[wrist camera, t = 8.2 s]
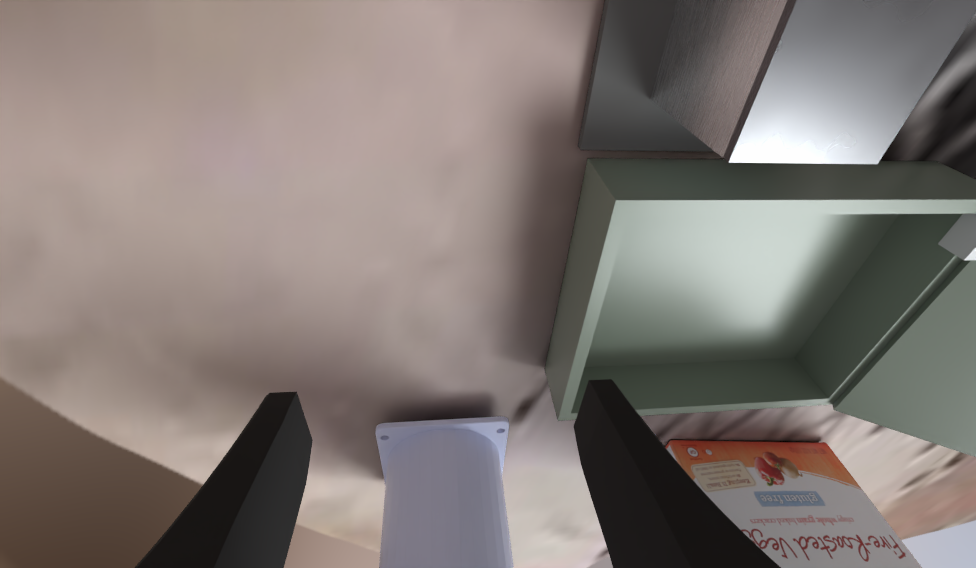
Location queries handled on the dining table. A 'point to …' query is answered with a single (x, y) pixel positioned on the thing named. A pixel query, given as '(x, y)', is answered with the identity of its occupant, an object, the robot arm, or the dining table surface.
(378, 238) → the dining table surface
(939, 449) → the dining table surface
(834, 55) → the block
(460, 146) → the dining table surface
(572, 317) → the case
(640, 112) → the pad
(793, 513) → the cracker box
